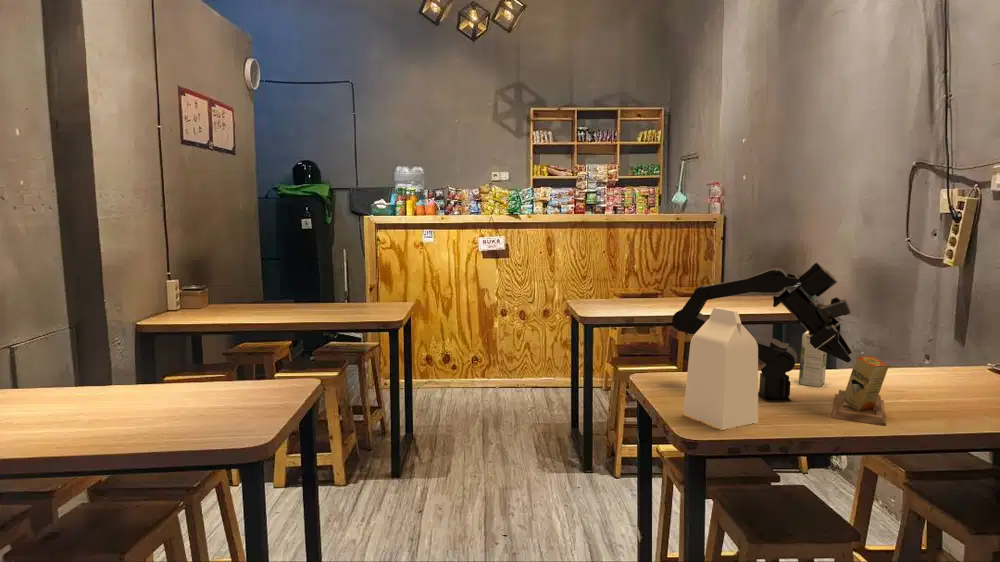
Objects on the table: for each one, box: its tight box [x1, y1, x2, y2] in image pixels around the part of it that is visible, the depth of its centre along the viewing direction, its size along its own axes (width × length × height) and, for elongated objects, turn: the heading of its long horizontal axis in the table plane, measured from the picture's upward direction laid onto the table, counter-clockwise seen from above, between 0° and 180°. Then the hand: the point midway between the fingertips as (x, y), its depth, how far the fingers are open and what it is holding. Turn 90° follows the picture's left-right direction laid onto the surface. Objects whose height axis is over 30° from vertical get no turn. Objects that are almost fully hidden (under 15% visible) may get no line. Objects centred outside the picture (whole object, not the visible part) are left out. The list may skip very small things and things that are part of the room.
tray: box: [831, 389, 887, 426], centre depth 161 cm, size 11×20×2 cm, turn 151°
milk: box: [682, 306, 759, 429], centre depth 152 cm, size 12×12×26 cm
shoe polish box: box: [842, 355, 890, 411], centre depth 159 cm, size 5×5×12 cm
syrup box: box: [798, 330, 828, 388], centre depth 183 cm, size 6×6×14 cm
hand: (850, 357), depth 161 cm, fingers open, 9 cm apart
